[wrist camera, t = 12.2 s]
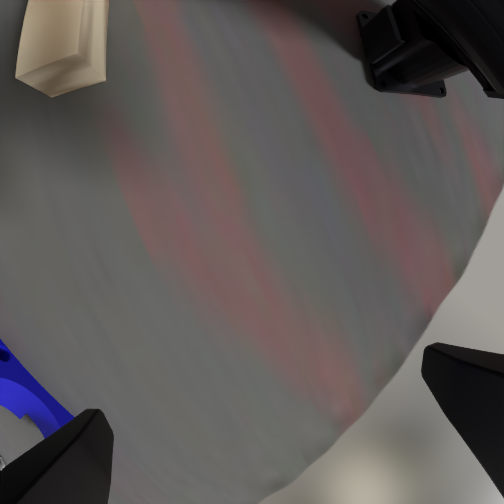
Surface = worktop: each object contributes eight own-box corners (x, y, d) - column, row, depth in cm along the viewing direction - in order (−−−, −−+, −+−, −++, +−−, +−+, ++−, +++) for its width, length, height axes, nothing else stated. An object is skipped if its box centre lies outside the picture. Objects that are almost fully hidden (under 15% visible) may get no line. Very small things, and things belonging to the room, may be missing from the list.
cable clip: (-19, 359, 18) (-55, 392, 12) (-2, 334, 18) (-43, 368, 12) (76, 452, 20) (57, 497, 15) (101, 437, 20) (83, 488, 15)
